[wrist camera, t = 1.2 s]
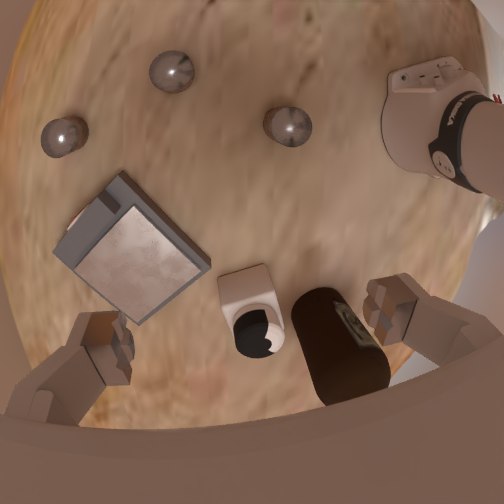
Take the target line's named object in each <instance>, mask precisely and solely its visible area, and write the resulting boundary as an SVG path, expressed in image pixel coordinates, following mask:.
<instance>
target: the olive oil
mask: <svg viewBox="0 0 504 504" xmlns="http://www.w3.org/2000/svg"><path fill="white" fill-rule="evenodd" d="M291 318H292V322H293V325H294V328H295V331H296V333H297V336H298V339H299V342H300V344H301V347H302V350H303V353H304V356H305V359H306V362H307V366H308V369H309V372H310V375H311V378H312V381H313V385H314V388H315V391H316V393H317V395H318V397H319V399H320V400H321V401H322V402H323V403H324V404H325V405H326V406H329V405H333V404H336V403H340V402H344V401H347V400H351V399H354V398H357V397H361V396H364V395H367V394H370V393H373V392H376V391H379V390H382V389H385V388H388V386H389V383H390V378H391V372H390V366H389V362H388V359H387V357H386V355H385V354H384V352H383V351H382V349H381V348H380V347H379V345H378V344H377V343H376V341H375V340H374V339H373V337H372V336H371V335H370V333H369V332H368V331H367V329H366V328H365V327H364V325H363V324H362V323H361V321H360V320H359V319H358V317H357V316H356V315H355V313H354V312H353V311H352V309H351V308H350V307H349V305H348V304H347V303H346V301H345V300H344V299H343V297H342V296H341V295H340V293H338V292H337V291H336V290H334V289H331V288H319V289H315V290H312V291H310V292H308V293H306V294H305V295H303V296H302V297H301V298H300V299H299V300H298V301H297V302H296V304H295V305H294V307H293V310H292V314H291Z"/></svg>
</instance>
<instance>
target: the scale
mask: <svg viewBox="0 0 504 504" xmlns="http://www.w3.org/2000/svg"><path fill="white" fill-rule="evenodd" d="M134 204H135V205H136V206H137V207H138V208H139V209H140V210H141V211H142V212H143V213H144V214H145V215H146V216H147V217H148V218H149V219H150V220H151V221H152V222H153V223H154V224H156V225H157V226H158V227H159V228H160V229H161V230H162V231H163V232H164V233H165V234H166V235H167V236H168V237H169V238H170V239H171V240H172V241H173V242H174V243H175V244H176V245H177V246H178V247H179V248H180V249H181V250H182V251H183V252H184V253H185V254H187V255H188V256H189V257H190V258H191V259H192V260H193V261H194V262H195V263H196V264H197V265H198V266H199V267H200V268H201V272H199V273H198V274H197V275H196V276H194V277H193V278H192V279H191V280H189V281H188V282H187V283H186V284H184V285H183V286H182V287H181V288H179V289H178V290H177V291H176V292H174V293H173V294H172V295H171V296H169V297H168V298H167V299H166V300H164V301H163V302H162V303H161V304H160V305H158V306H157V307H156V308H155V309H153V310H152V311H151V312H150V313H148V314H147V315H146V316H145V317H144V318H142V319H141V320H140V321H139V322H136V321H134V320H133V319H132V318H131V317H129V316H128V315H127V314H125V313H124V314H125V316H127V317H128V318H129V319H130V320H132V321H133V322H134V323H136V324H137V325H138V326H140V325H141V324H142V323H143V322H145V321H146V320H147V319H148V318H149V317H151V316H152V315H153V314H154V313H156V312H157V311H158V310H159V309H161V308H162V307H163V306H164V305H166V304H167V303H168V302H169V301H171V300H172V299H173V298H174V297H176V296H177V295H178V294H180V293H181V292H182V291H183V290H185V289H186V288H187V287H188V286H190V285H191V284H192V283H193V282H195V281H196V280H197V279H198V278H200V277H201V276H202V275H203V274H205V273H206V272H207V271H209V270H210V269H211V259H210V258H209V257H208V256H207V255H206V254H205V253H204V252H203V251H202V250H201V249H200V248H199V247H198V246H197V245H196V244H195V243H194V242H193V241H192V240H191V239H190V238H189V237H188V236H187V235H186V234H185V233H184V232H183V231H182V230H181V229H180V228H179V227H178V226H177V225H176V224H175V223H174V222H173V221H172V220H171V219H170V218H169V217H168V216H167V215H166V214H165V213H164V212H163V211H162V210H161V209H160V208H159V207H158V206H157V205H156V204H155V203H154V202H153V201H152V200H151V199H150V198H149V197H148V196H147V195H146V194H145V193H144V192H143V191H142V190H141V189H140V188H139V187H138V186H137V185H136V183H135V182H134V181H133V180H132V179H131V178H130V177H129V176H128V175H127V174H126V173H125V172H124V171H122V172H121V173H120V174H119V175H117V177H116V178H115V179H114V180H113V181H112V182H111V183H110V184H109V185H108V186H107V187H106V188H105V189H104V190H103V191H102V192H101V193H100V194H99V195H98V196H97V197H96V199H95V200H94V201H93V202H92V203H91V204H88V205H87V206H86V207H85V208H84V209H83V210H82V211H80V212H79V213H78V214H77V215H76V216H75V218H74V219H73V220H72V223H71V224H70V226H69V227H68V228H67V231H68V232H67V233H66V234H65V236H64V237H63V238H62V240H61V241H60V242H59V243H58V245H57V246H56V247H55V249H54V250H53V251H52V253H53V254H55V255H56V256H57V257H58V258H59V259H60V260H61V261H62V262H63V263H64V264H65V265H66V266H67V267H68V268H69V269H71V270H72V271H73V272H74V273H75V274H76V275H77V276H78V277H80V278H81V279H82V280H83V281H84V282H85V283H86V284H88V285H89V286H90V287H91V288H92V289H93V290H95V291H96V292H97V293H98V294H99V295H100V296H102V297H103V298H104V299H105V300H107V301H108V302H109V303H110V304H111V305H113V306H114V307H115V308H116V309H118V310H119V311H122V310H120V309H119V308H118V307H117V306H115V305H114V304H113V303H112V302H110V301H109V300H108V299H107V298H106V297H104V296H103V295H102V294H101V293H100V292H98V291H97V290H96V289H95V288H94V287H92V286H91V285H90V284H89V283H88V282H87V281H86V280H84V279H83V278H82V277H81V276H80V275H79V274H78V273H77V272H75V271H74V270H75V268H76V267H77V265H78V264H79V263H80V262H81V261H82V260H83V258H84V257H85V256H86V255H87V254H88V253H89V252H90V251H91V249H92V248H93V247H94V246H95V245H96V244H97V243H98V242H99V241H100V240H101V238H102V237H103V236H104V235H105V234H106V233H107V232H108V231H109V230H110V229H111V228H112V227H113V226H114V225H115V224H116V223H117V221H118V220H119V219H120V218H121V217H122V216H123V215H124V214H125V213H126V212H127V211H128V210H129V209H130V208H131V207H132V206H133V205H134ZM122 312H123V311H122Z"/></svg>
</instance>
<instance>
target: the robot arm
mask: <svg viewBox="0 0 504 504" xmlns="http://www.w3.org/2000/svg"><path fill="white" fill-rule="evenodd" d="M402 76H403V80H402V78H401V77H402ZM493 97H494V100H495V102H494V101H493V100H491V99H490V98H488V97H487V94H486V92H485V89H484V87H483V85H482V83H481V82H480V80H479V79H478V77H477V76H476V75H475V74H474V73H472V72H471V71H467V70H464V68H463V67H462V65H461V64H460V63H459V62H458V61H457V60H456V59H455V58H454V57H452V56H445V57H441V58H437V59H433V60H430V61H426V62H423V63H419V64H416V65H412V66H409V67H406V68H403V69H399V70H396V71H393V72H391V73H390V74H389V76H388V97H387V100H386V103H385V106H384V109H383V114H382V134H383V139H384V143H385V146H386V149H387V151H388V153H389V155H390V156H391V158H392V159H393V160H394V161H395V163H396V164H397V165H399V166H400V167H401V168H403V169H405V170H407V171H410V172H417V173H425V174H428V175H430V176H432V177H434V178H441V177H442V178H445V179H449V180H451V181H452V182H454V183H456V184H458V185H460V186H462V187H464V188H466V189H468V190H470V191H473V192H475V193H485V194H486V195H488V196H490V197H492V198H494V199H496V200H498V201H500V202H501V203H503V204H504V104H502V101H501V99H500V96H499V95H498V99H499V101H498V99H497V97H496V96H495V94H493ZM366 290H367V292H368V294H369V295H368V296H367V297H366V299H365V300H364V303H363V316H364V318H365V321H366V323H367V324H368V326H370V327H372V328H374V329H375V332H374V334H375V336H376V337H377V339H378V340H379V342H380V343H381V345H382V346H387V345H391V344H395V343H398V342H402V341H403V342H402V343H404V344H406V345H407V346H409V347H410V348H412V349H413V350H415V351H417V352H418V353H420V354H422V355H423V356H424V357H426V358H428V359H429V360H431V361H432V362H434V363H436V364H437V365H439V366H440V367H439V368H437V369H435V370H432V371H430V372H428V373H425V374H423V375H420V376H418V377H415V378H413V379H410V380H407V381H405V382H402V383H399V384H397V385H394V386H391V387H388V388H385V389H382V390H379V391H376V392H373V393H370V394H367V395H364V396H361V397H357V398H354V399H351V400H347V401H344V402H340V403H336V404H333V405H329V406H325V407H321V408H317V409H312V410H308V411H304V412H299V413H294V414H289V415H284V416H279V417H274V418H268V419H262V420H256V421H249V422H242V423H234V424H226V425H217V426H207V427H195V428H179V429H104V428H89V427H80V426H79V425H78V424H79V422H80V421H81V420H82V418H83V417H84V416H85V414H86V413H87V412H88V410H89V409H90V408H91V406H92V405H93V404H94V402H95V401H96V400H97V399H98V397H99V396H100V395H101V393H102V392H103V391H104V389H105V388H106V386H118V385H130V381H131V374H132V368H131V365H130V362H131V361H132V360H133V359H134V353H135V348H134V340H133V336H132V333H131V331H130V330H129V329H127V328H126V323H127V319H126V317H125V314H124V312H122V311H102V312H83V313H80V314H78V316H77V318H76V321H75V323H74V326H73V328H72V330H71V333H70V335H69V338H68V340H67V343H66V345H65V346H61V347H60V348H59V349H58V350H56V351H55V352H54V353H53V354H52V355H50V356H49V357H48V358H47V359H46V360H44V361H43V362H42V363H41V364H40V365H39V366H37V367H36V368H35V369H34V370H33V371H32V372H30V373H29V374H28V375H27V376H26V377H25V378H23V380H21V381H20V382H19V383H18V384H17V385H15V387H14V390H13V392H12V395H11V397H10V400H9V403H8V406H7V408H6V411H5V414H4V415H2V414H0V504H504V335H503V334H502V333H501V332H500V331H499V330H498V329H497V328H496V327H495V326H494V325H493V324H492V323H491V322H490V321H489V320H488V319H487V318H486V317H485V316H483V315H480V314H478V313H475V312H473V311H471V310H468V309H465V308H463V307H461V306H458V305H456V304H453V303H451V302H448V301H446V300H443V299H441V298H438V297H436V296H432V297H431V296H430V295H429V294H428V293H427V292H426V291H425V290H424V289H423V288H422V287H421V286H420V285H419V284H418V283H417V282H416V281H415V280H414V279H413V278H412V277H411V276H410V275H409V274H407V273H401V274H396V275H393V276H389V277H383V278H378V279H372V280H370V281H369V282H368V284H367V289H366Z"/></svg>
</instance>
